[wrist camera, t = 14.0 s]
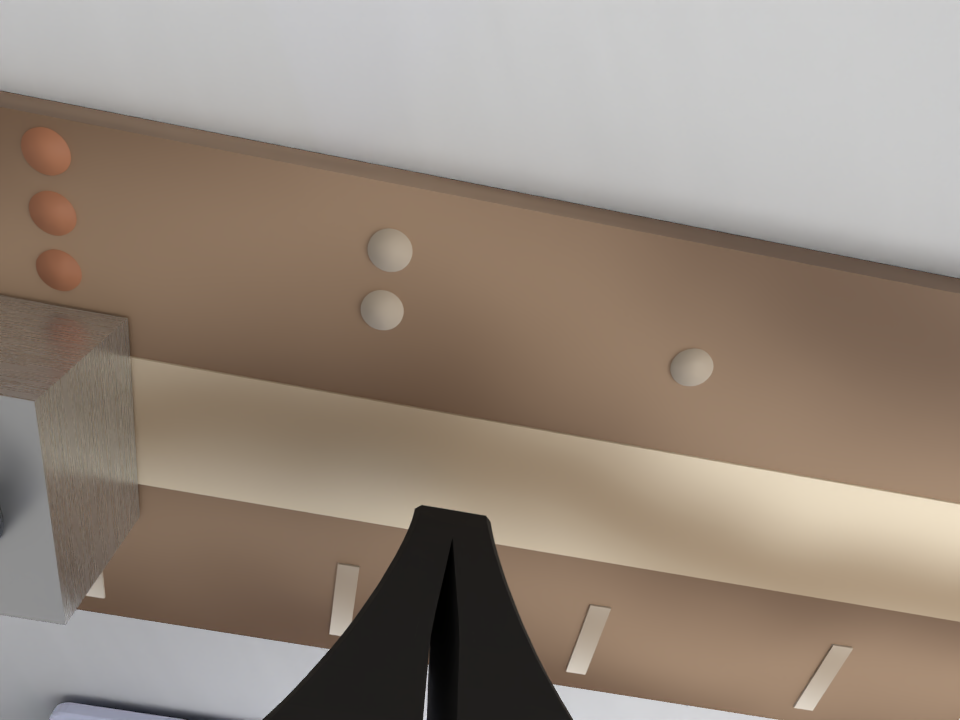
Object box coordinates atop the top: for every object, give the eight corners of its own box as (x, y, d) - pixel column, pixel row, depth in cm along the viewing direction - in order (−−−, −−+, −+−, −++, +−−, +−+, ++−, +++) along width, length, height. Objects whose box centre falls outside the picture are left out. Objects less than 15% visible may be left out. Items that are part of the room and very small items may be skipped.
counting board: (919, 710, 20) (939, 746, 19) (-41, 556, 18) (-71, 588, 17) (1211, 328, 14) (1261, 353, 13) (-155, 60, 12) (-209, 67, 11)
